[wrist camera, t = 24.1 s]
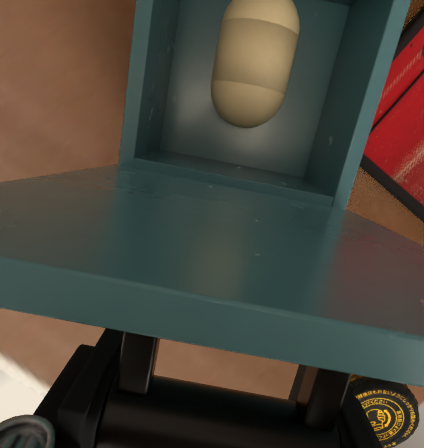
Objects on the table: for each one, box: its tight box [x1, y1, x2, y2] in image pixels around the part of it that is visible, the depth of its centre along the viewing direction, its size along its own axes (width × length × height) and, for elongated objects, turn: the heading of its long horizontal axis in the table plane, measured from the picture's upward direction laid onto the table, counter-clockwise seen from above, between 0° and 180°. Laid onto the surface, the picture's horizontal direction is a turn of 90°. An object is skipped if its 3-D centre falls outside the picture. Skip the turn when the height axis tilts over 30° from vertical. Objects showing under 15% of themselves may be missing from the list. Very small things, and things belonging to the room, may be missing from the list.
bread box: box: [118, 0, 411, 209], centre depth 22 cm, size 14×14×9 cm
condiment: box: [349, 374, 419, 448], centre depth 26 cm, size 7×8×12 cm
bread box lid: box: [0, 165, 424, 448], centre depth 13 cm, size 15×14×5 cm
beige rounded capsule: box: [211, 0, 300, 128], centre depth 23 cm, size 9×5×5 cm, turn 169°
